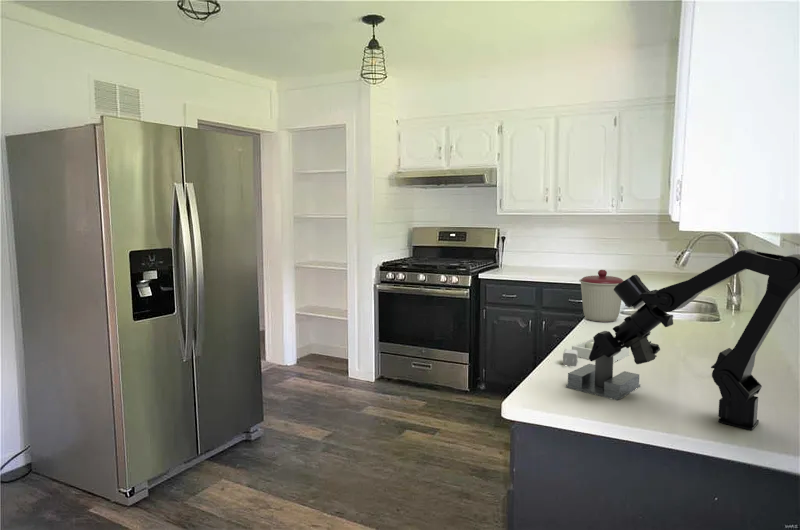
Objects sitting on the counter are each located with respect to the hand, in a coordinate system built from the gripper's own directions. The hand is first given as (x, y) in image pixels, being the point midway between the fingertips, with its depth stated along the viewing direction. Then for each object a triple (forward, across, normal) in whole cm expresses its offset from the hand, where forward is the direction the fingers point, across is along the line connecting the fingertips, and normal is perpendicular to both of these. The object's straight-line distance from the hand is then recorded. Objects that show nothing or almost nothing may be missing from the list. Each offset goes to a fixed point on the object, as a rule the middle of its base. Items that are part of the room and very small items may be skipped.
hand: (599, 356), depth 144 cm
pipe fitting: (+17, +28, +4) cm, 33 cm away
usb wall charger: (+17, +11, +5) cm, 21 cm away
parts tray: (+16, +27, +4) cm, 32 cm away
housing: (+5, 0, -7) cm, 8 cm away
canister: (+36, +77, +23) cm, 88 cm away
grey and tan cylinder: (+4, 0, -6) cm, 8 cm away
